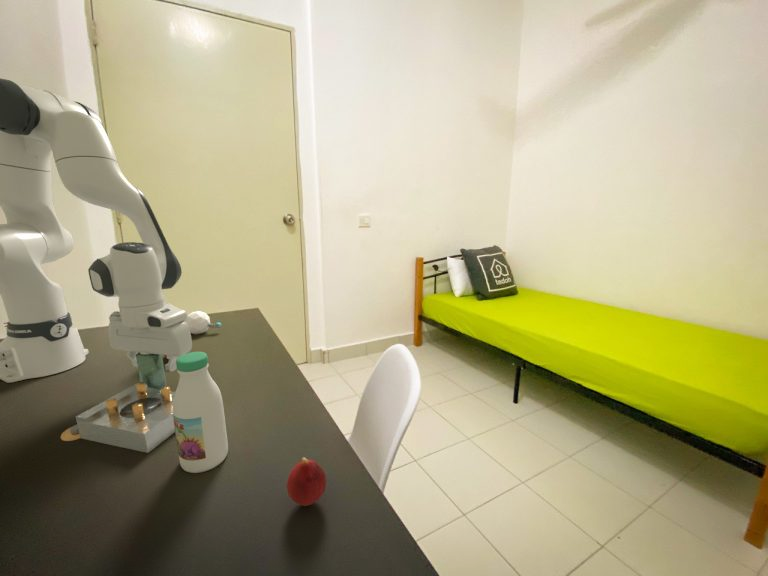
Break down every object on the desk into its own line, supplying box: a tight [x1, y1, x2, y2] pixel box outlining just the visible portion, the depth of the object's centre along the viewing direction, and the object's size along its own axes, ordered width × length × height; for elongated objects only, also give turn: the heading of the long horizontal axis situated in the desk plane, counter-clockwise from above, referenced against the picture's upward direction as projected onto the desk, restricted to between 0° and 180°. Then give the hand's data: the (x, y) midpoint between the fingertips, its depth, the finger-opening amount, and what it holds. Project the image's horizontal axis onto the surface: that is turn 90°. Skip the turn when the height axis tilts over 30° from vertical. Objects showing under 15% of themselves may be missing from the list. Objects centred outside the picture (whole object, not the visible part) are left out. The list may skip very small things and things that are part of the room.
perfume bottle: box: [184, 310, 222, 335], centre depth 118 cm, size 8×8×12 cm
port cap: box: [60, 424, 81, 442], centre depth 67 cm, size 5×5×2 cm
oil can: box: [136, 352, 168, 389], centre depth 80 cm, size 5×5×13 cm
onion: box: [286, 456, 327, 507], centre depth 51 cm, size 6×6×8 cm
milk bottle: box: [172, 351, 229, 474], centre depth 58 cm, size 8×8×20 cm
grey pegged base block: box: [75, 382, 176, 454], centre depth 69 cm, size 16×13×7 cm
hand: (154, 368), depth 81 cm, fingers open, 8 cm apart
